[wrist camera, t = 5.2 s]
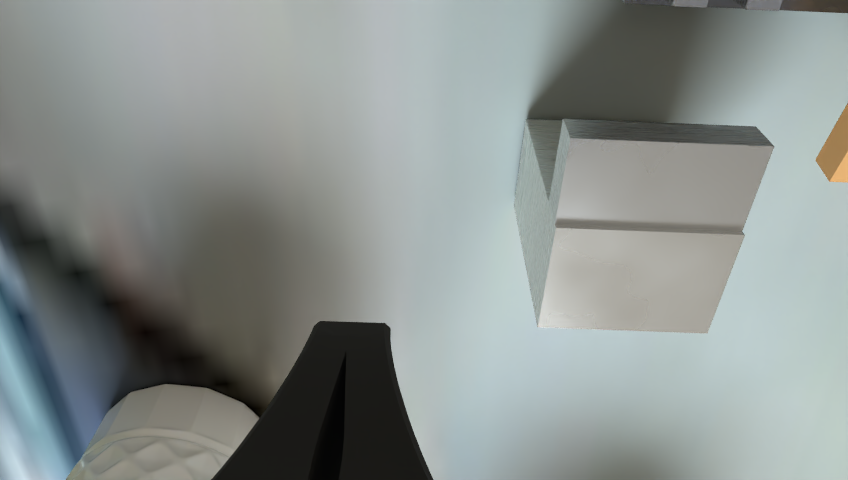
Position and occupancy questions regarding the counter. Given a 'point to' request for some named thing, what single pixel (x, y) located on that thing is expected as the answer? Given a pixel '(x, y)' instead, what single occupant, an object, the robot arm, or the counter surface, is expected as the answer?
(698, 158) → the block
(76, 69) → the counter surface
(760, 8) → the heatsink block
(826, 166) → the orange rectangular bar
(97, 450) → the white cup
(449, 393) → the counter surface
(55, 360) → the counter surface
